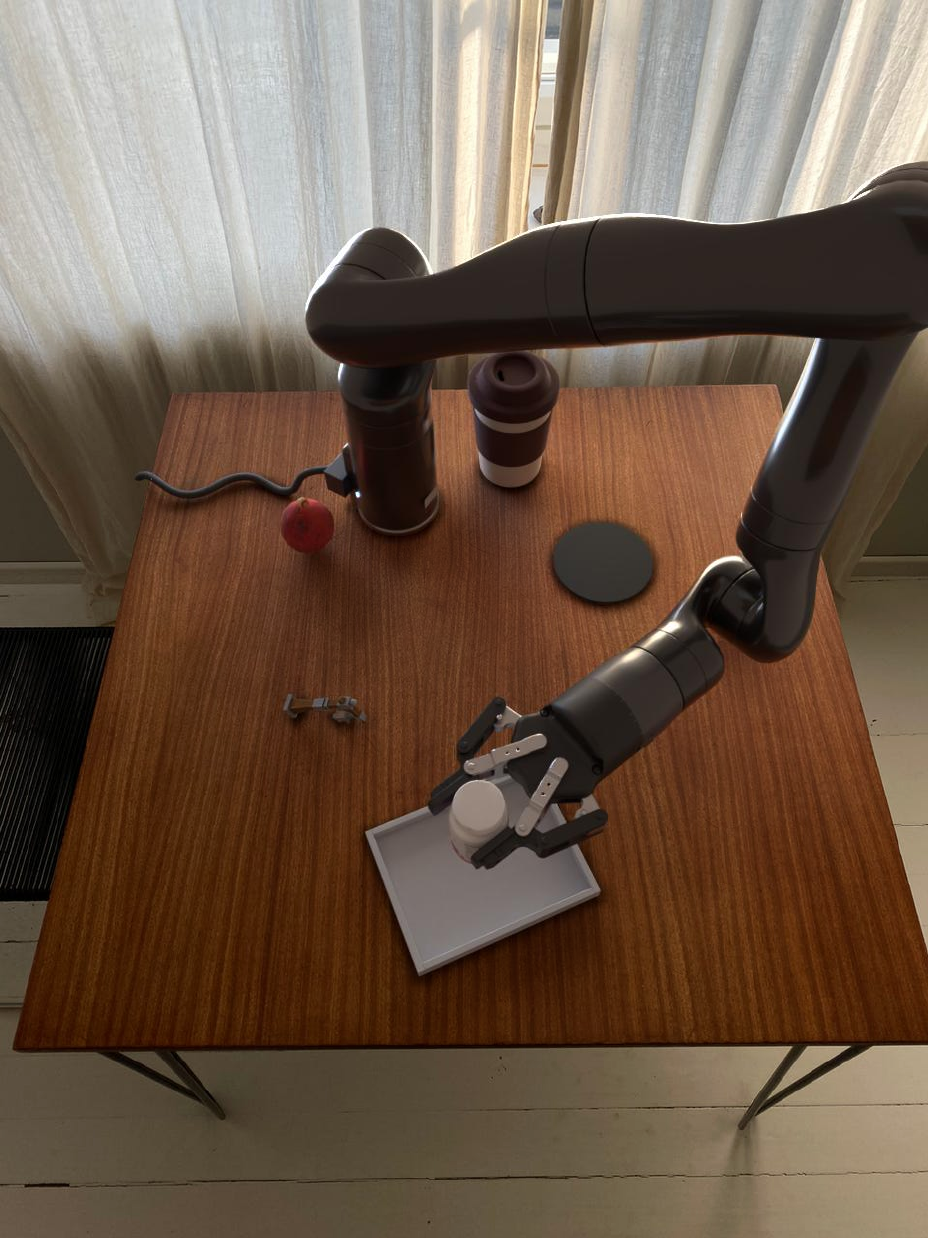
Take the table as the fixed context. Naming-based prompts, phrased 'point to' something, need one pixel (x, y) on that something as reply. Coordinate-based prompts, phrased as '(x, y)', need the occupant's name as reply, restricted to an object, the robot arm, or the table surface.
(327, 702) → the wooden post with brackets
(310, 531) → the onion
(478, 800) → the pill bottle
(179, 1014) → the table surface
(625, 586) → the mat
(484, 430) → the coffee cup
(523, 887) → the tray
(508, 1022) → the table surface
